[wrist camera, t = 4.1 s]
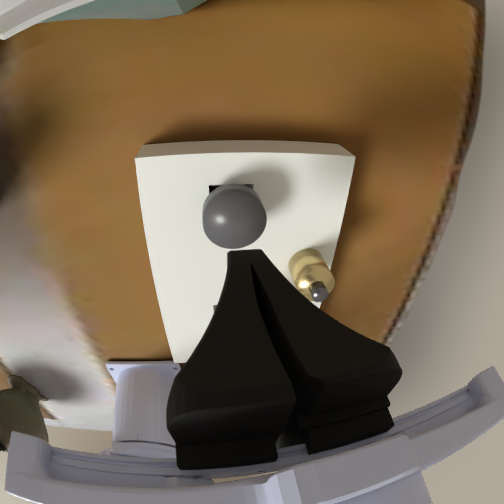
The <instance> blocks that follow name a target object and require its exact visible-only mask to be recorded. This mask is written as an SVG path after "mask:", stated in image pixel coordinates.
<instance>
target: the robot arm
mask: <svg viewBox="0 0 504 504" xmlns="http://www.w3.org/2000/svg"><path fill="white" fill-rule="evenodd" d="M106 367H107V369H108V371H109V372H110V374H111V376H112V377H113V379H114V381H115V382H116V384H117V387H116V397H115V409H114V423H113V442H112V448H111V452H110V449H109V448H104V450H102V451H100V452H99V454H94V453H87V452H80V451H74V450H68V449H62V448H57V447H52V446H51V445H50V444H49V443H47V442H46V441H44V440H43V439H40V438H38V437H35V436H31V435H27V434H23V433H19V432H15V431H12V432H11V438H10V444H9V451H8V459H7V468H6V479H5V491H6V493H8V494H11V495H13V496H15V497H18V498H21V499H23V500H26V501H29V502H32V503H35V504H432V501H431V498H430V495H429V493H428V490H427V487H426V484H425V481H424V479H423V476H422V474H421V471H422V470H424V469H426V468H428V467H430V466H432V465H434V464H436V463H437V462H439V461H441V460H443V459H444V458H446V457H448V456H450V455H451V454H453V453H454V452H456V451H458V450H459V449H461V448H463V447H464V446H466V445H467V444H469V443H470V442H472V441H473V440H475V439H476V438H478V437H479V436H481V435H482V434H484V433H485V432H486V431H488V430H489V429H490V428H492V427H493V426H494V425H496V424H497V423H498V422H499V421H501V420H502V419H503V418H504V383H503V381H502V379H501V378H500V376H499V374H498V372H497V371H496V369H495V367H494V366H492V367H490V368H488V369H486V370H484V371H482V372H481V373H479V374H478V375H477V376H475V377H474V378H473V379H472V380H471V381H470V382H469V383H468V385H467V386H465V387H463V388H461V389H459V390H458V391H455V392H453V393H451V394H449V395H447V396H445V397H443V398H441V399H439V400H437V401H434V402H432V403H430V404H427V405H425V406H423V407H421V408H418V409H415V410H413V411H410V412H408V413H405V414H403V415H400V416H398V417H395V418H392V417H391V415H390V413H389V410H388V408H387V407H389V406H390V402H389V399H388V397H387V395H388V394H389V393H390V392H391V390H392V389H393V388H394V387H395V385H396V384H397V383H398V381H399V380H400V378H401V376H402V369H401V367H400V366H399V363H398V361H397V359H396V357H395V355H394V354H393V352H392V351H391V349H390V348H389V347H388V346H385V345H383V344H381V343H378V342H376V341H374V340H371V339H369V338H367V337H365V336H363V335H361V334H359V333H357V332H355V331H353V330H351V329H350V328H348V327H346V326H345V325H343V324H341V323H340V322H338V321H337V320H335V319H334V318H332V317H330V316H329V315H328V314H326V313H325V312H323V311H322V310H321V309H319V308H318V307H317V306H316V305H314V304H313V303H312V302H310V301H309V300H308V299H307V298H306V297H305V296H304V295H303V294H302V293H300V292H299V291H298V290H297V289H296V288H295V287H294V286H293V285H292V284H291V283H290V282H289V281H288V280H287V279H286V277H285V276H284V275H283V274H282V273H281V272H280V271H279V270H278V269H277V267H276V266H275V265H274V264H273V263H272V262H271V260H270V259H269V258H268V257H267V255H266V254H265V253H264V252H263V251H262V250H261V249H249V250H232V251H229V252H228V253H227V273H226V277H225V281H224V286H223V289H222V292H221V295H220V298H219V301H218V304H217V307H216V309H215V312H214V314H213V316H212V319H211V321H210V323H209V325H208V327H207V329H206V331H205V333H204V335H203V336H202V338H201V340H200V342H199V343H198V345H197V346H196V348H195V350H194V351H193V353H192V354H191V356H190V357H189V359H188V360H187V362H186V363H185V364H184V366H183V367H182V368H180V364H179V363H174V361H135V362H129V361H108V362H106ZM274 471H278V472H276V473H272V474H267V475H262V476H258V477H252V478H247V479H241V480H235V481H228V482H221V483H214V481H213V480H211V479H215V478H227V477H237V476H246V475H254V474H261V473H268V472H274Z"/></svg>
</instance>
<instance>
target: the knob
mask: <svg viewBox="0 0 504 504" xmlns="http://www.w3.org/2000/svg"><path fill="white" fill-rule="evenodd" d="M202 219H203V229H204V232H205V234H206V236H207V237H208V239H209V240H210V241H211V242H212V243H214V244H215V245H217V246H219V247H222V248H226V249H239V248H243V247H246V246H248V245H250V244H252V243H254V242H255V241H256V240H257V239H258V238H259V237H260V236H261V235H262V233H263V232H264V230H265V227H266V223H267V216H266V212H265V209H264V207H263V204H262V202H261V200H260V197H259V196H258V194H257V193H256V192H255V191H254V190H253V189H251V188H250V187H248V186H245V185H242V184H226V185H213V191H212V192H211V193H210V194H209V195H208V196H207V198H206V200H205V202H204V204H203V208H202Z"/></svg>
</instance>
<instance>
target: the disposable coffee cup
mask: <svg viewBox="0 0 504 504" xmlns="http://www.w3.org/2000/svg"><path fill="white" fill-rule="evenodd" d="M205 1H207V0H0V39H4V40H5V39H7V38H9V37H11V36H13V35H14V34H16V33H18V32H20V31H22V30H24V29H26V28H28V27H30V26H32V25H34V24H37V23H45V22H53V21H63V20H76V19H100V18H120V19H145V20H151V19H157V18H162V17H169V16H175V15H182V14H185V13H187V12H188V11H190V10H192V9H193V8H195V7H197V6H198V5H200V4H202V3H204V2H205Z"/></svg>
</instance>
